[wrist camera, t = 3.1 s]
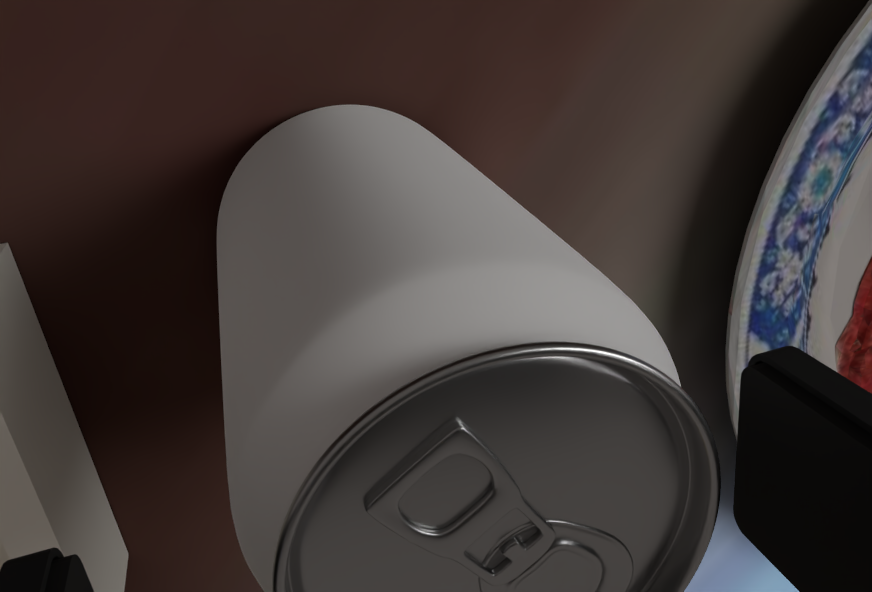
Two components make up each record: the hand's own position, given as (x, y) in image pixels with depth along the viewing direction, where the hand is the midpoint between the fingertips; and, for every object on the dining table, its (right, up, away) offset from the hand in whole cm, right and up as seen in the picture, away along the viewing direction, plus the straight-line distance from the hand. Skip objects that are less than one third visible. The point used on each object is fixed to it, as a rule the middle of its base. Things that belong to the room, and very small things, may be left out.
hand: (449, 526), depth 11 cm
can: (-3, +5, +9) cm, 11 cm away
